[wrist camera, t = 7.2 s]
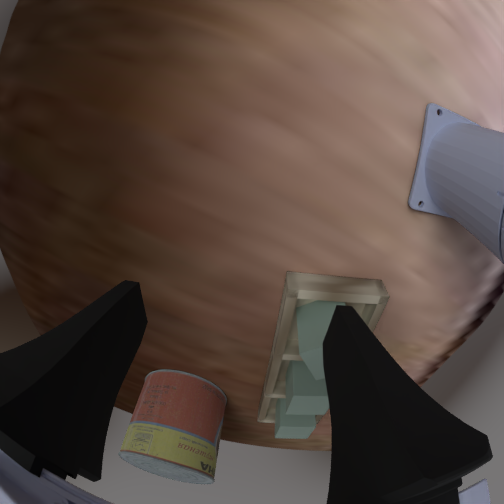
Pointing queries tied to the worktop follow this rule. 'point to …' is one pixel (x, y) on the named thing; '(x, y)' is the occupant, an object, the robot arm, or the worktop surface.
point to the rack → (286, 335)
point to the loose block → (314, 333)
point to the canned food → (176, 427)
